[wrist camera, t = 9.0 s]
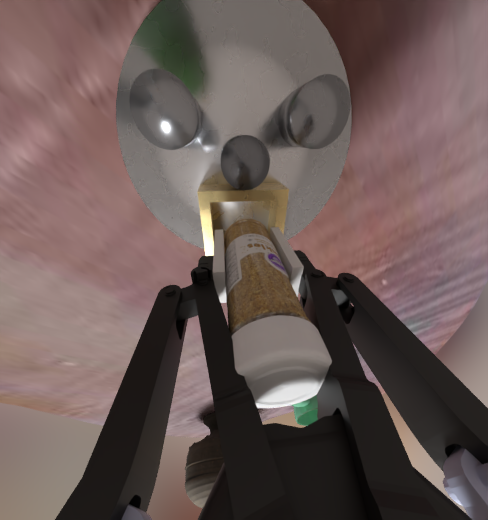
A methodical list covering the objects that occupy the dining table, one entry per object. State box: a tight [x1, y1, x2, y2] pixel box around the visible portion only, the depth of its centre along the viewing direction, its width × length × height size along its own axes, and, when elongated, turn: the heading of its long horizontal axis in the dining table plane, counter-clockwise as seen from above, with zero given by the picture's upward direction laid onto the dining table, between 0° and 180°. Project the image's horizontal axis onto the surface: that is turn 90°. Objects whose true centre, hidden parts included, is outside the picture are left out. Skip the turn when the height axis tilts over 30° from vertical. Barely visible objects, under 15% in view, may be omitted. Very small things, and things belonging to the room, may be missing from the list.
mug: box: [292, 395, 318, 426], centre depth 41 cm, size 15×10×10 cm
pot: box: [185, 413, 224, 508], centre depth 50 cm, size 18×18×20 cm
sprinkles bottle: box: [224, 219, 332, 408], centre depth 13 cm, size 5×5×14 cm
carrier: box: [116, 0, 352, 256], centre depth 18 cm, size 22×22×6 cm
